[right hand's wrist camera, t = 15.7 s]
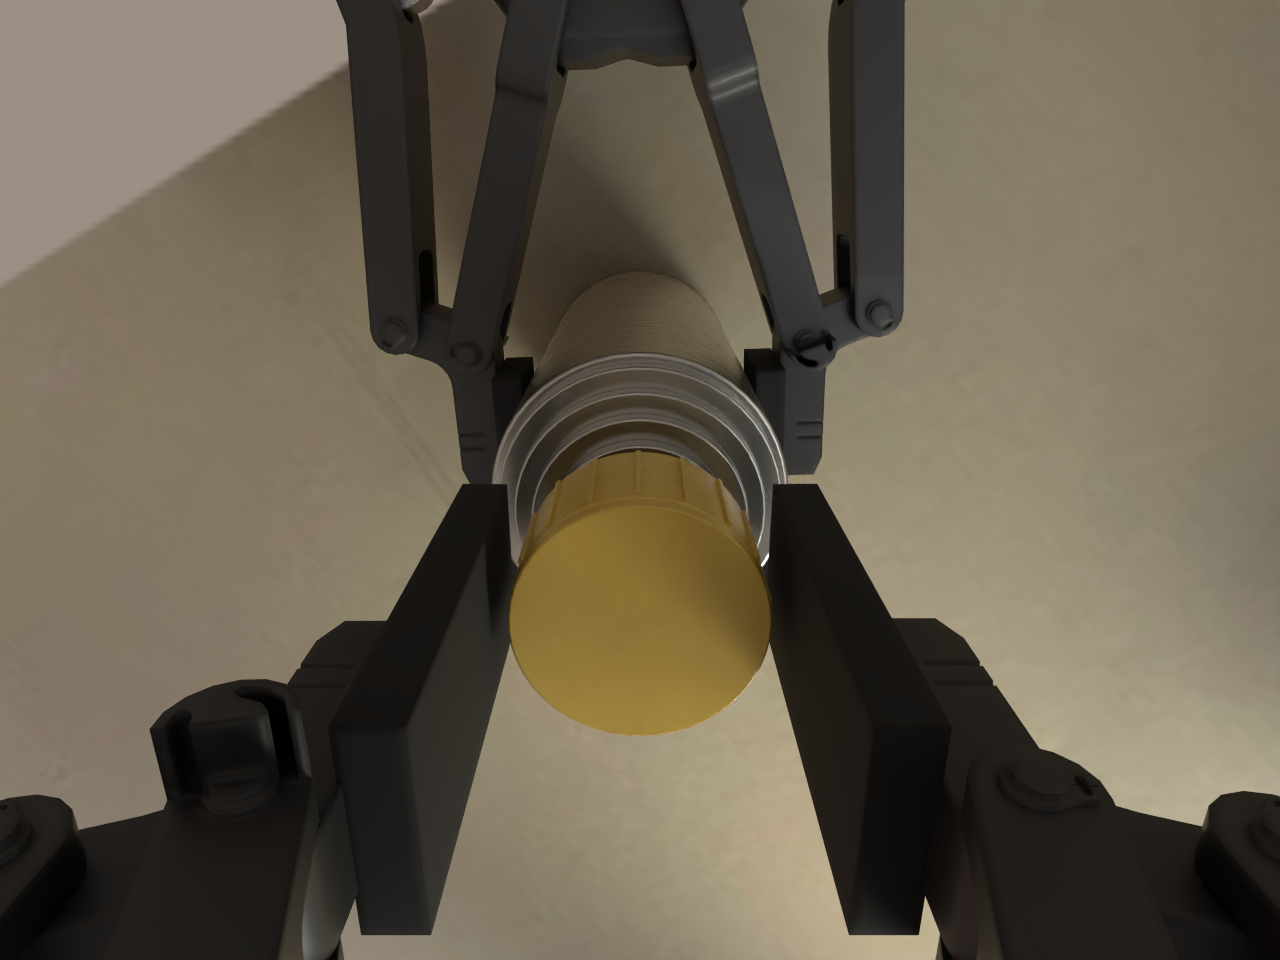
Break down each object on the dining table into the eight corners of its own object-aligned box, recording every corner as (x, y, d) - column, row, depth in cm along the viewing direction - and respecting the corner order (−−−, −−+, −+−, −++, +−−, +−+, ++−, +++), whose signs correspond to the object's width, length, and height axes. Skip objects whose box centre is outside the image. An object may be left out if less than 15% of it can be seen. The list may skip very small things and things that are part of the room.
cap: (566, 678, 15) (554, 764, 13) (491, 484, 14) (463, 544, 12) (776, 624, 15) (800, 704, 13) (721, 419, 14) (736, 469, 11)
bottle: (584, 460, 31) (518, 811, 14) (529, 300, 28) (375, 489, 12) (744, 415, 30) (875, 725, 13) (701, 248, 28) (790, 370, 11)
